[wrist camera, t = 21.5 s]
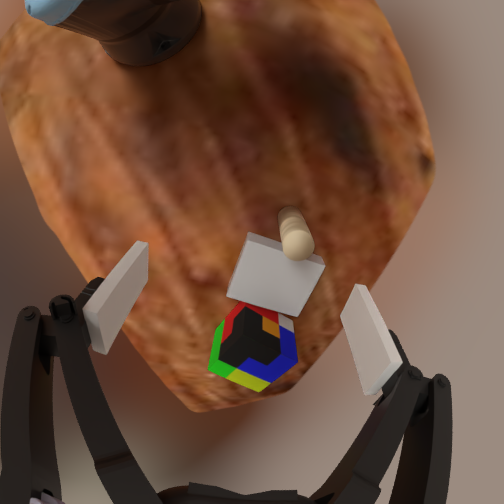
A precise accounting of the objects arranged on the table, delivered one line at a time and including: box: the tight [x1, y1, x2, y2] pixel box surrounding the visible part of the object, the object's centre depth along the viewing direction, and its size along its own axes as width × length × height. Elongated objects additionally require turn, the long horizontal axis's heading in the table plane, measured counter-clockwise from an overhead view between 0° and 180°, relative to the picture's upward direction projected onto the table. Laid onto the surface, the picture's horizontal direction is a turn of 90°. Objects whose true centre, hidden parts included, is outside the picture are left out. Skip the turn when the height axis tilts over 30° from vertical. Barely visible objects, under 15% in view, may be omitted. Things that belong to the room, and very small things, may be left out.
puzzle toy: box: [208, 301, 298, 392], centre depth 44 cm, size 10×10×10 cm
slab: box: [226, 232, 325, 317], centre depth 42 cm, size 10×12×4 cm
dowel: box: [278, 206, 315, 261], centre depth 34 cm, size 4×4×10 cm
